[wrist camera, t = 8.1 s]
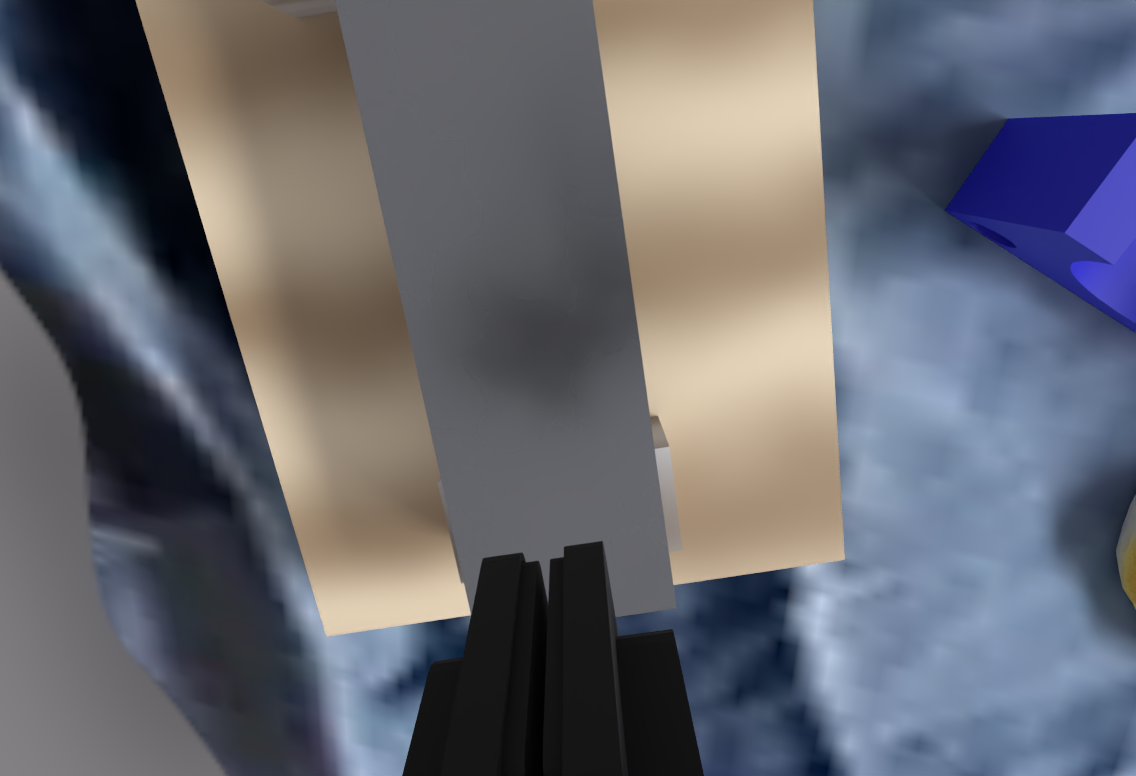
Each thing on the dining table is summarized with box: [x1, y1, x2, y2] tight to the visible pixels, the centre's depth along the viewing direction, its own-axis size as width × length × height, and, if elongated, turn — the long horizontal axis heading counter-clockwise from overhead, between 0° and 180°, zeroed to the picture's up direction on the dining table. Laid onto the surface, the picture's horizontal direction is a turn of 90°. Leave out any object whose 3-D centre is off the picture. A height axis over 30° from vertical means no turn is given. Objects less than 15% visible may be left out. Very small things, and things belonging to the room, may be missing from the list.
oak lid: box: [136, 0, 845, 636], centre depth 20 cm, size 20×16×7 cm
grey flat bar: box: [335, 0, 677, 617], centre depth 17 cm, size 17×5×2 cm, turn 9°
